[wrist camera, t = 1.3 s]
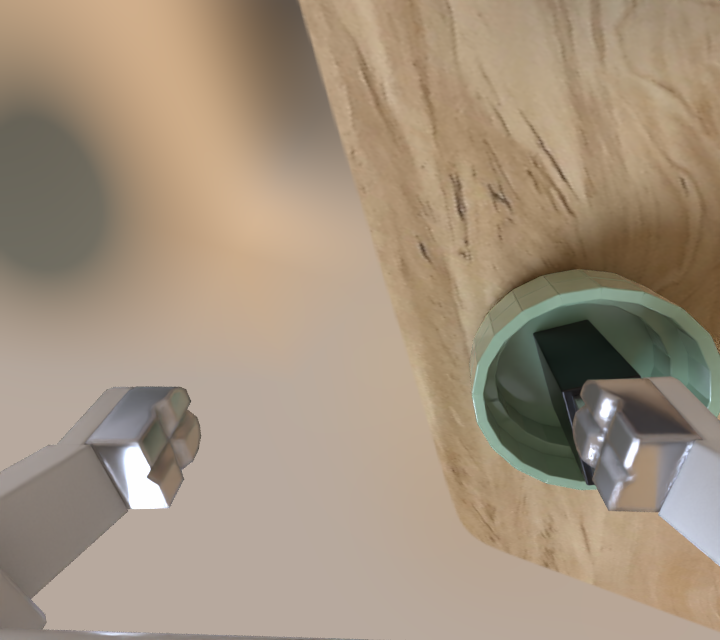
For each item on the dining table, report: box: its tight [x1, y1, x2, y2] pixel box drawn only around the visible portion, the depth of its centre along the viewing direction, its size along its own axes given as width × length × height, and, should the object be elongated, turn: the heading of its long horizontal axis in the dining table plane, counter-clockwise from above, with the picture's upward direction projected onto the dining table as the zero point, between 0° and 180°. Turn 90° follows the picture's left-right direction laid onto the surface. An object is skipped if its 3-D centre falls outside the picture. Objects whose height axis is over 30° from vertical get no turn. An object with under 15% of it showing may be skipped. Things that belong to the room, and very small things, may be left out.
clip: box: [533, 320, 641, 486], centre depth 20 cm, size 5×3×9 cm, turn 21°
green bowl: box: [469, 269, 720, 490], centre depth 22 cm, size 11×11×4 cm
